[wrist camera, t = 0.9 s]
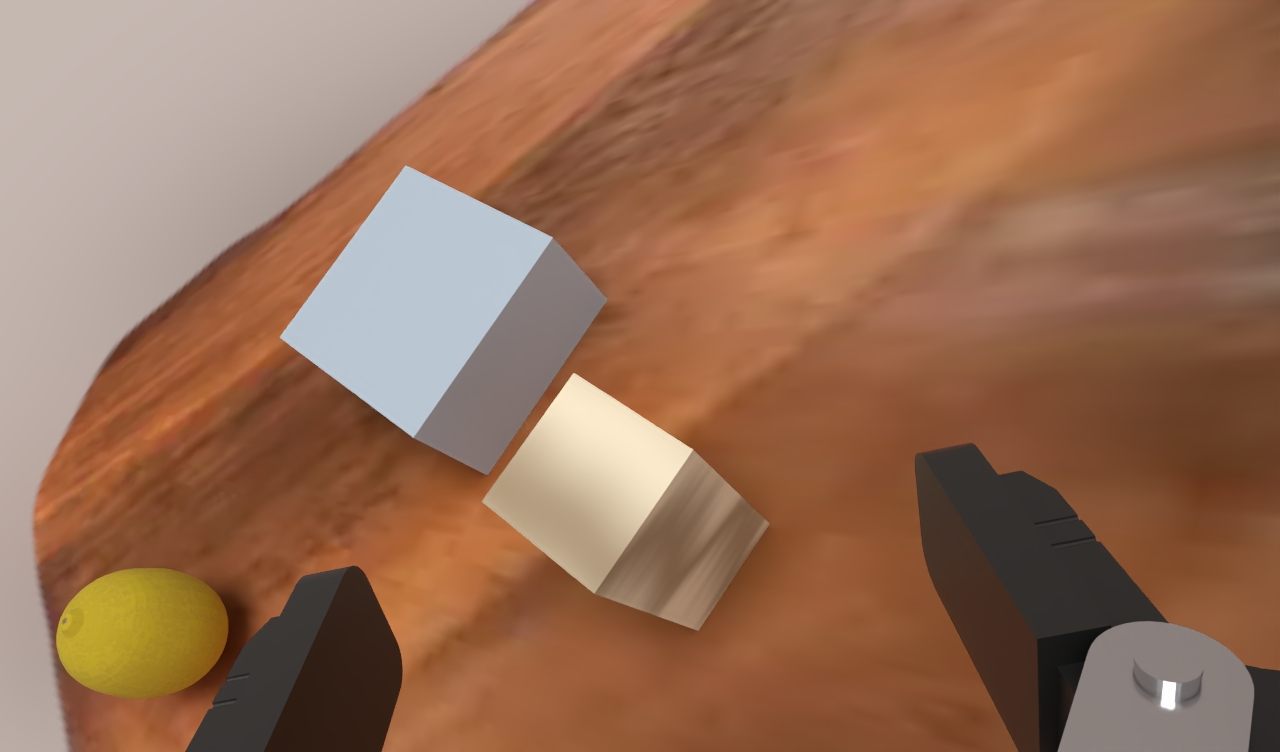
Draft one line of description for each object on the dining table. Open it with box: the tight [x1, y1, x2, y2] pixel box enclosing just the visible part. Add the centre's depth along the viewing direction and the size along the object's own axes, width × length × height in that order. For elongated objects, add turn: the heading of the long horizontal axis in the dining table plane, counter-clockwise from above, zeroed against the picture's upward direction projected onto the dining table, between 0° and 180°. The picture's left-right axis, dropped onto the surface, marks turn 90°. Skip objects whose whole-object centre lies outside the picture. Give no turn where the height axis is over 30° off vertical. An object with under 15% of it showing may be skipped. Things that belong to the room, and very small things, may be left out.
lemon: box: [57, 568, 228, 699], centre depth 37 cm, size 6×6×8 cm
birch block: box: [482, 373, 770, 631], centre depth 30 cm, size 5×5×10 cm
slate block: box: [280, 166, 608, 476], centre depth 39 cm, size 10×10×6 cm
